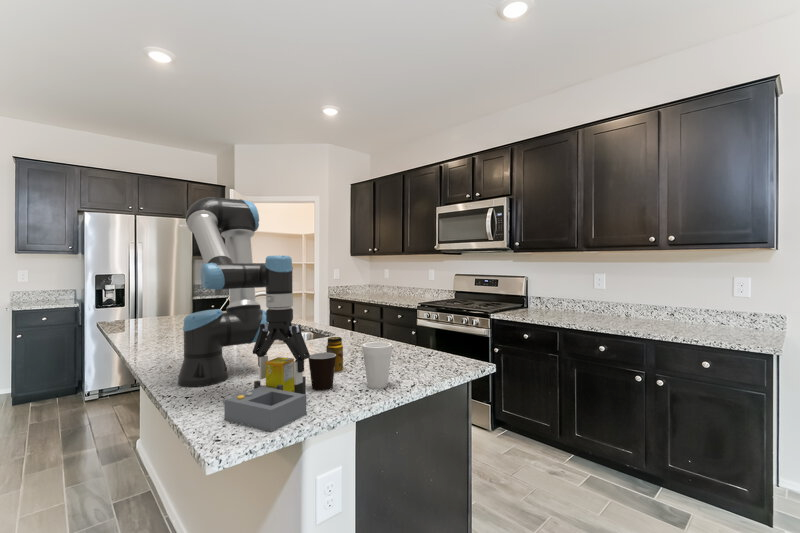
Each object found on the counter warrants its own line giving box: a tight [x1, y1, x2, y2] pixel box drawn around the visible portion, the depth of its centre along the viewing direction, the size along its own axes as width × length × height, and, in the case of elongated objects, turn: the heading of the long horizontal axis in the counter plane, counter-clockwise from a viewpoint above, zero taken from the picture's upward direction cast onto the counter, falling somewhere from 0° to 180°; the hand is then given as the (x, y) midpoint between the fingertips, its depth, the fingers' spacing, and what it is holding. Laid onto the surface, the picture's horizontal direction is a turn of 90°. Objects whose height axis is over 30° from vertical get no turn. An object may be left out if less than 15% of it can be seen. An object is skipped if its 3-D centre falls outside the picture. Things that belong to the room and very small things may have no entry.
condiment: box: [325, 336, 348, 374], centre depth 142 cm, size 7×8×12 cm
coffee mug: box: [307, 352, 336, 392], centre depth 124 cm, size 12×9×10 cm
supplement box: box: [265, 356, 295, 392], centre depth 114 cm, size 6×6×11 cm
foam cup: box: [361, 341, 393, 389], centre depth 124 cm, size 10×9×13 cm
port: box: [223, 385, 308, 432], centre depth 99 cm, size 16×12×6 cm
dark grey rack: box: [253, 376, 307, 395], centre depth 114 cm, size 10×10×5 cm
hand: (280, 380), depth 114 cm, fingers open, 13 cm apart
